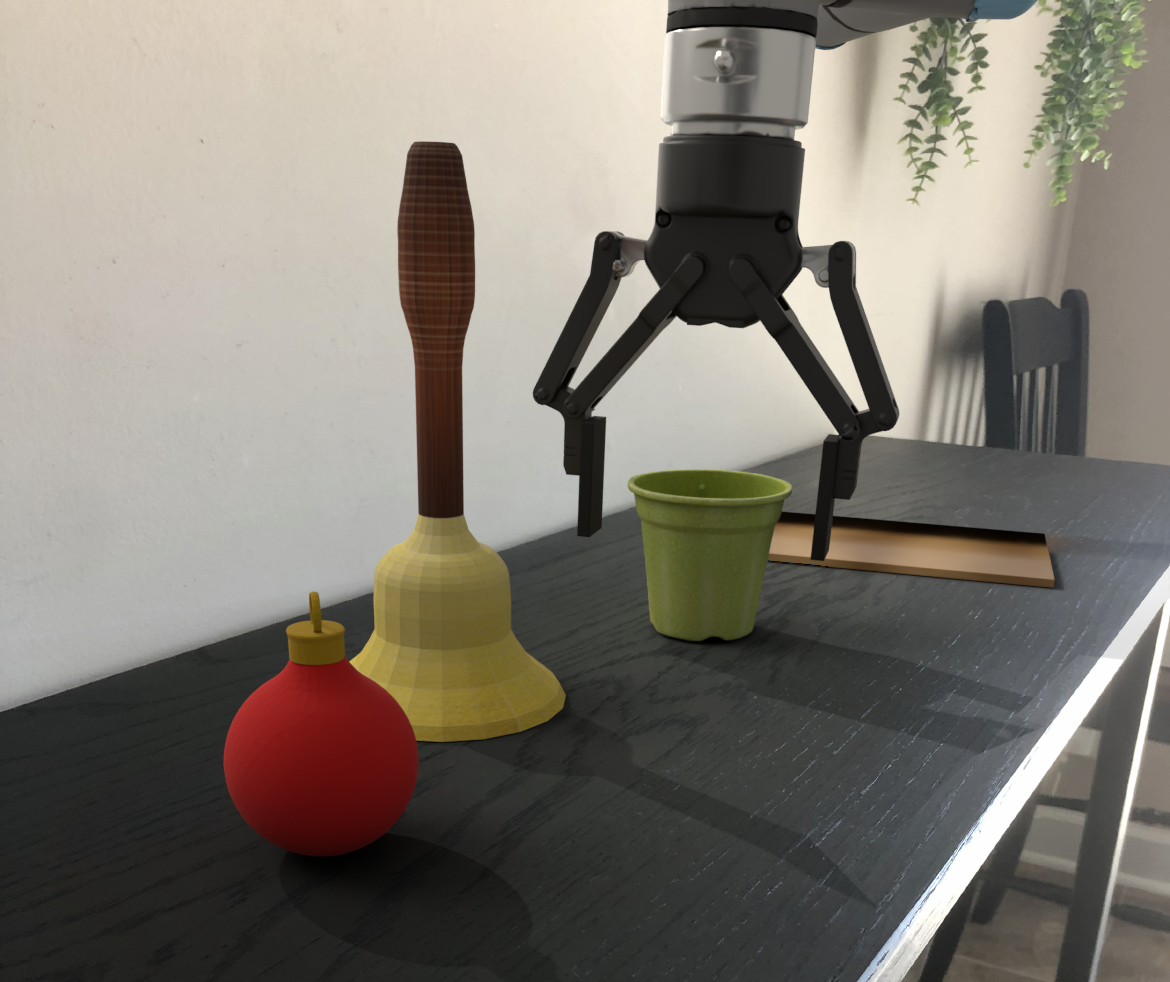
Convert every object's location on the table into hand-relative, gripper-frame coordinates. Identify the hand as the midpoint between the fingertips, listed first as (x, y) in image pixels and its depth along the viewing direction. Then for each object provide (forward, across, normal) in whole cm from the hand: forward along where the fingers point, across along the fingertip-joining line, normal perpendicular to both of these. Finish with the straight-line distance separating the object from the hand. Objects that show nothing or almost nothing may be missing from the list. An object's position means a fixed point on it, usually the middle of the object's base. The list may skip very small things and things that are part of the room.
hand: (702, 544), depth 74 cm
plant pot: (+5, 0, 0) cm, 5 cm away
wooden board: (+5, +10, +27) cm, 29 cm away
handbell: (+6, -10, -16) cm, 19 cm away
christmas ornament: (+6, -8, -33) cm, 34 cm away
